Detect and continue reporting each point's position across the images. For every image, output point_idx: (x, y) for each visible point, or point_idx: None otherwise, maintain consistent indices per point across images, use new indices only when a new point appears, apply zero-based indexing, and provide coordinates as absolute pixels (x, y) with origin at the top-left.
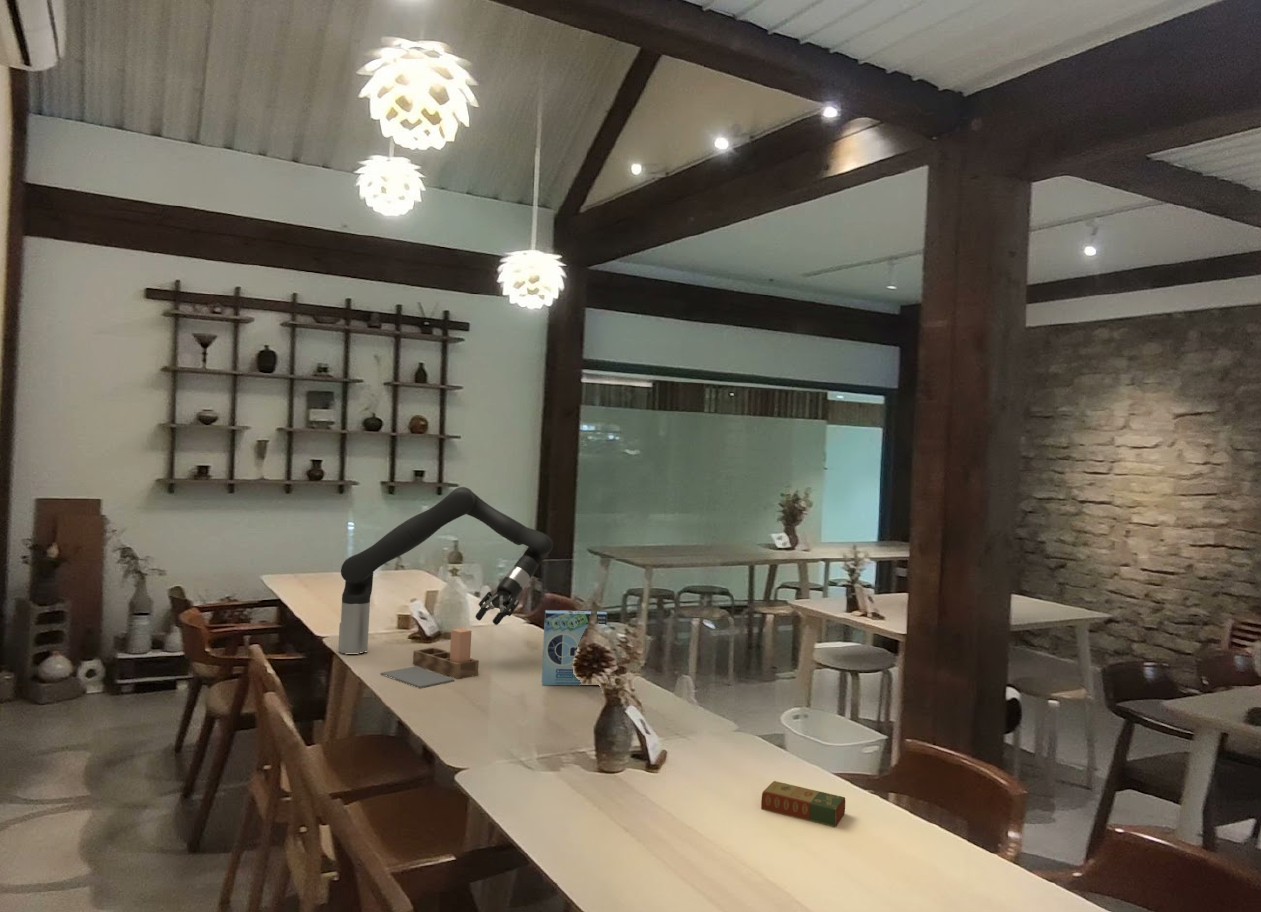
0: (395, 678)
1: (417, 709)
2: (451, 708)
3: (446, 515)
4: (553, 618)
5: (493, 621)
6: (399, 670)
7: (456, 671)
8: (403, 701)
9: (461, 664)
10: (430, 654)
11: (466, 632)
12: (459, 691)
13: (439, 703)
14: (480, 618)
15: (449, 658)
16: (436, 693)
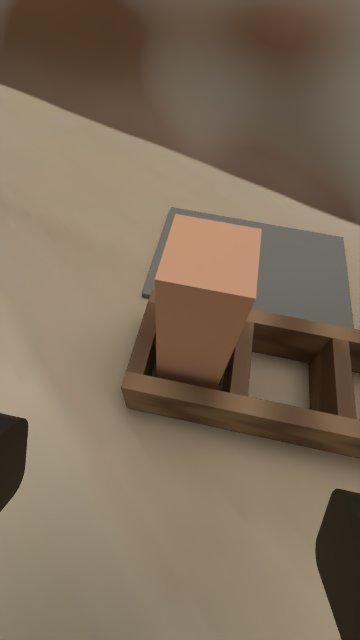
0: (273, 226)
1: (77, 134)
2: (19, 158)
3: None
4: None
5: (9, 415)
6: (335, 275)
7: None
8: (132, 149)
9: (147, 305)
10: (347, 341)
11: (164, 252)
12: (69, 238)
13: (60, 167)
14: (329, 570)
15: (242, 338)
16: (110, 204)
